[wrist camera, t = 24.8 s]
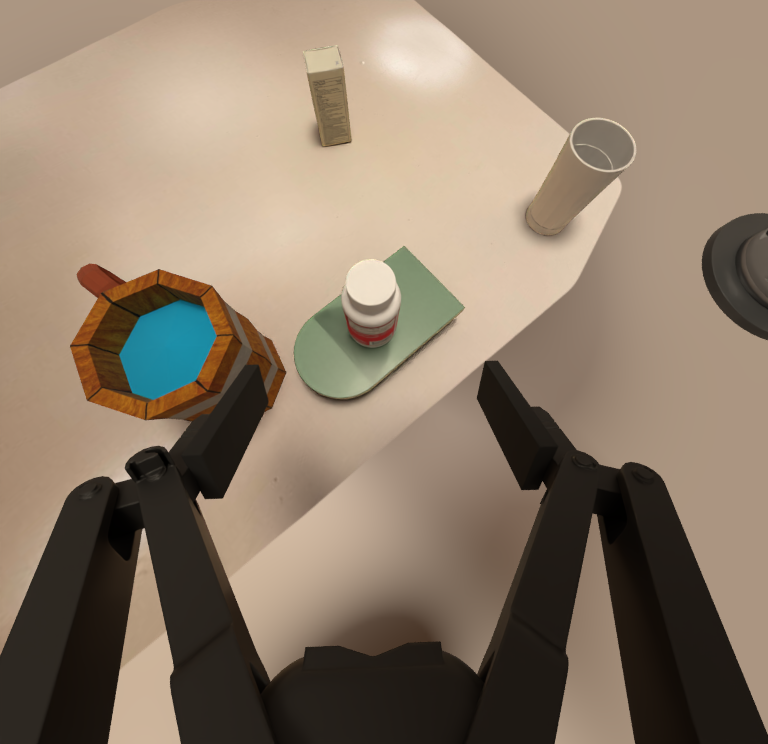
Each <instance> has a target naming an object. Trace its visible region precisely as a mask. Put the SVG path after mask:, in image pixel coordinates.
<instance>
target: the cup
mask: <svg viewBox="0 0 768 744" xmlns="http://www.w3.org/2000/svg"><path fill="white" fill-rule="evenodd" d="M635 156H636V144H635V141H634V139H633V137H632V136H631V134H630V133H629V132H628V131H627V130H626V129H625V128H624V127H623V126H621V125H620V124H618V123H616V122H614V121H611V120H608V119H604V118H590V119H586V120H583V121H581V122H580V123H578V124H577V125H576V126H575V127H574V128H573V130H572V132H571V133H570V135H569V137H568V139H567V141H566V142H565V144H564V146H563V148H562V150H561V152H560V153H559V155H558V157H557V160H556V161H555V163H554V165H553V167H552V168H551V170H550V172H549V174H548V176H547V177H546V179H545V181H544V183H543V184H542V186H541V188H540V190H539V192H538V193H537V195H536V197H535V199H534V200H533V202H532V203H531V205H530V206H529V208H528V209H527V212H526V220H527V223H528V225H529V226H530V227H531V228H532V229H533V230H534V231H535V232H537V233H539V234H542V235H555V234H557V233H559V232H560V231H561V230H562V229H563V228H564V227H565V226H566V225H567V224H568V223H569V222H570V221H571V220H572V219H573V218H574V217H575V216H576V215H577V214H578V213H579V212H580V211H582V210H583V209H584V208H585V207H586V206H587V205H588V204H589V203H590V202H591V201H592V200H593V199H594V198H595V197H596V196H597V195H598V194H599V193H601V192H602V191H603V190H604V189H605V188H606V187H607V186H608V185H609V184H610V183H611V182H612V181H613V180H614V179H615V178H617V177H618V176H619V175H620V174H621V173H622V172H623V171H624V170H625V169H626V168H627V167H628V166H629V165H631V163H632V162H633V160H634V159H635Z"/></svg>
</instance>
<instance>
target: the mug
mask: <svg viewBox="0 0 768 744" xmlns="http://www.w3.org/2000/svg"><path fill="white" fill-rule="evenodd" d="M77 278H78V280H79V282H80V284H81V285H82V286H83V287H84V288H86V289H87V290H88V291H89V292H91V293H92V294H93V295H95V296H96V297H97V298H98V299H97V301H96V303H95V304H94V306H93V308H92V309H91V311H90V313H89V315H88V316H87V318H86V320H85V321H84V323H83V325H82V327H81V328H80V330H79V332H78V333H77V335H76V337H75V339H74V340H73V342H72V344H71V345H70V348H71V351H72V354H73V357H74V360H75V364H76V367H77V370H78V373H79V376H80V380H81V383H82V386H83V389H84V392H85V396H86V399H87V401H90V402H93V403H96V404H99V405H102V406H105V407H108V408H111V409H114V410H117V411H120V412H123V413H126V414H129V415H132V416H135V417H138V418H141V419H144V420H154V419H165V418H169V419H181V420H187V421H193V420H195V419H196V418H197V417H199V416H200V415H202V414H211V412H212V411H213V409H214V408H215V406H216V405H217V404H218V402H219V401H220V399H221V398H222V397H223V395H224V394H225V392H226V391H227V390H228V388H229V387H230V385H231V384H232V383H233V381H234V380H235V378H236V377H237V376H238V374H239V373H240V371H241V370H242V369H243V367H244V366H245V365H259V367H260V371H261V375H262V378H263V382H264V386H265V389H266V393H267V397H268V400H269V403H268V405H267V407H266V409H265V411H267V410H269V409H271V408H272V406H273V404H274V401H275V399H276V396H277V394H278V391H279V389H280V386H281V384H282V381H283V379H284V376H285V374H286V371H285V369H284V366H283V364H282V362H281V360H280V358H279V356H278V353H277V351H276V349H275V347H274V345H273V342H272V340H270V339H269V338H267V337H265V336H263V335H262V334H261V333H260V332H259V331H257V330H256V328H255V327H254V326H253V325H252V324H251V322H250V321H249V320H248V319H247V318H246V317H244V316H242V315H241V314H239V313H238V312H236V311H235V310H234V309H233V308H231V307H230V306H229V305H228V304H227V303H226V302H225V301H224V300H223V299H222V298H221V297H220V295H219V294H218V293H217V291H216V290H215V289H214V288H213V286H211V285H208V284H204V283H201V282H198V281H195V280H192V279H188V278H185V277H182V276H179V275H176V274H172V273H169V272H166V271H163V270H160V269H158V270H156V271H153V272H151V273H149V274H146V275H144V276H141V277H139V278H136V279H134V280H131V281H129V282H125V281H124V280H122V279H120V278H119V277H117V276H116V275H114V274H113V273H111V272H109V271H108V270H106V269H104V268H102V267H100V266H98V265H97V264H88V265H86V266H84V267H82V268H81V269H80V270H79V272H78V273H77ZM265 411H264V412H265Z"/></svg>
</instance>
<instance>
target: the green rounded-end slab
mask: <svg viewBox="0 0 768 744" xmlns="http://www.w3.org/2000/svg"><path fill="white" fill-rule="evenodd" d="M384 263H385V264H387V265H388V266H389V267H390V268H391V269H392V271H393V273H394V275H395V278H396V283H397V285H398V287H399V289H400V293H401V305H400V310H399V315H398V321H397V327H396V331H395V333H394V335H393V337H392V338H391V340H390V341H389V342H387V343H386V344H384V345H382V346H380V347H375V348H369V347H365V346H362V345H360V344H358V343H357V342H356V341H355V340H354V339H353V338H352V336H351V335H350V332H349V329H348V326H347V322H346V318H345V314H344V311H343V307H342V302H341V295H340V296H338V297H337V298H336V299H334V300H333V301H332V302H331V303H329V304H328V305H327V306H325V307H324V308H323V309H321V310H320V311H319V312H318V313H316V314H315V315H314V316H312V317H311V318H310V319H309V320H308V321H307V322H306V323H305V324H304V325H303V327H302V328H301V330H300V332H299V334H298V336H297V338H296V341H295V346H294V360H295V365H296V368H297V371H298V373H299V374H300V376H301V378H302V379H303V381H304V382H305V383H306V384H307V385H308V386H309V387H311V388H312V389H313V390H314V391H316V392H318V393H319V394H321V395H323V396H326V397H329V398H333V399H351V398H355V397H358V396H361V395H363V394H365V393H367V392H368V391H370V390H371V389H372V388H374V387H375V386H376V385H377V384H378V383H379V382H381V381H382V380H383V379H384V378H385V377H386V376H388V375H389V374H390V373H391V372H392V371H394V370H395V369H396V368H397V367H398V366H399V365H401V364H402V363H403V362H404V361H405V360H406V359H408V358H409V357H410V356H411V355H412V354H413V353H415V352H416V351H417V350H418V349H419V348H420V347H422V346H423V345H424V344H425V343H426V342H427V341H429V340H430V339H431V338H432V337H433V336H434V335H436V334H437V333H438V332H439V331H440V330H441V329H443V328H444V327H445V326H446V325H447V324H448V323H450V322H451V321H452V320H453V319H454V318H455V317H457V316H458V315H459V314H460V313H461V312H462V311H463V310H464V308H465V307H464V306H463V305H462V304H461V303H460V302H459V301H458V300H457V299H456V298H455V297H454V296H453V295H452V294H451V293H450V292H449V291H448V290H447V289H446V288H445V287H444V286H443V284H442V283H441V282H440V281H439V280H438V279H437V278H436V277H435V276H434V275H433V274H432V273H431V272H430V271H429V270H428V269H427V268H426V267H425V266H424V265H423V264H422V263H421V262H420V261H419V260H418V259H417V258H416V257H415V256H414V255H413V254H412V253H411V252H410V251H409V250H408V249H407V248H406V247H405V246H403V247H402V248H401V249H399V250H398V251H397V252H395V253H394V254H393V255H392V256H390V257H389V258H388V259H386V260H385V261H384Z"/></svg>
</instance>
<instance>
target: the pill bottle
mask: <svg viewBox="0 0 768 744" xmlns="http://www.w3.org/2000/svg"><path fill="white" fill-rule="evenodd" d="M341 302H342V307H343V311H344V314H345V318H346V322H347V326H348V329H349V332H350V335H351V336H352V338H353V339H354V340H355V341H356V342H357V343H358V344H360V345H362V346H365V347H369V348H375V347H380V346H382V345H384V344H386V343H387V342H389V341H390V340H391V338H392V337H393V335H394V333H395V331H396V327H397V321H398V315H399V310H400V305H401V293H400V289H399V287H398V285H397V283H396V278H395V275H394V273H393V271H392V269H391V268H390V267H389V266H388V265H387V264H385V263H384V262H381V261H379V260H375V259H367V260H362V261H360V262H358V263H356V264H355V265H353V266H352V267H351V269H350V270H349V271H348V273H347V276H346V281H345V285H344V287H343V290H342V294H341Z"/></svg>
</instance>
